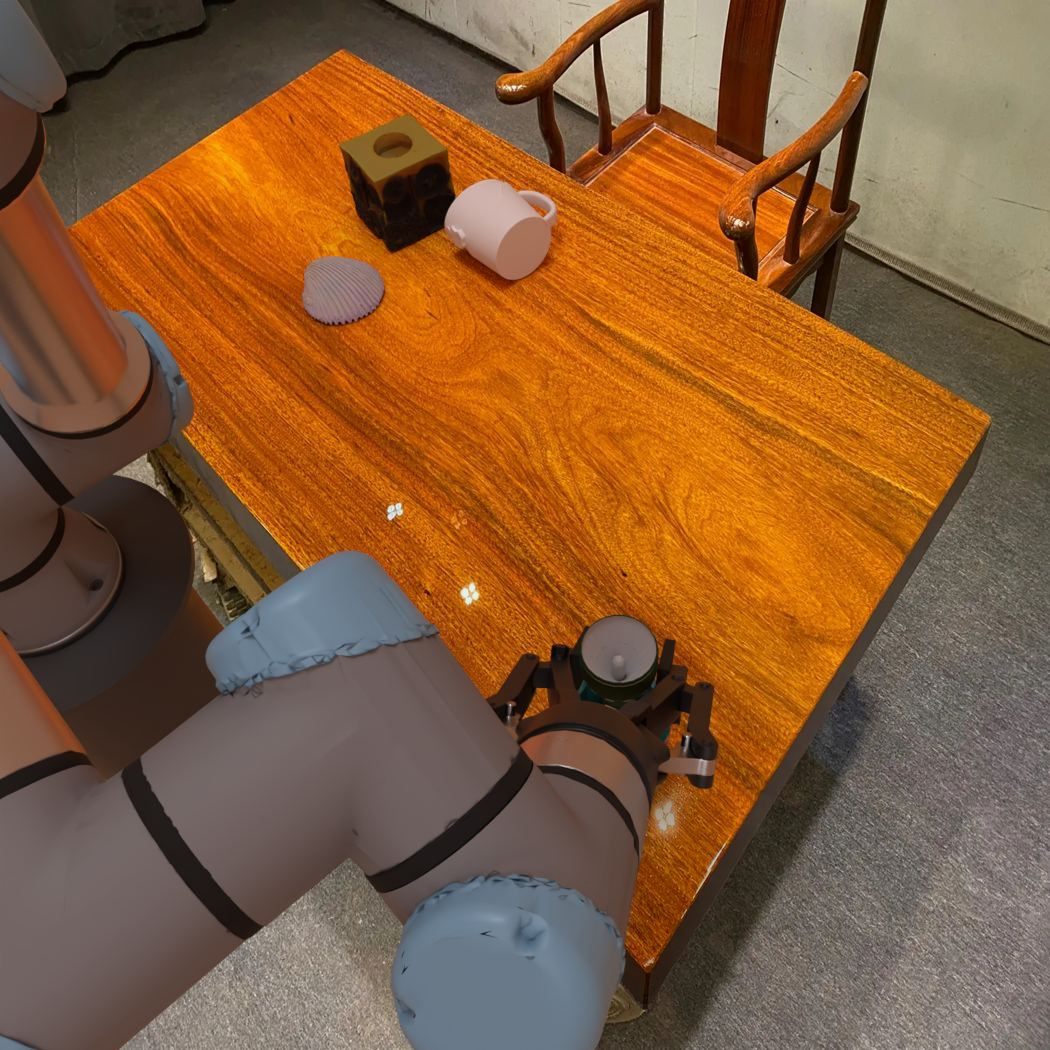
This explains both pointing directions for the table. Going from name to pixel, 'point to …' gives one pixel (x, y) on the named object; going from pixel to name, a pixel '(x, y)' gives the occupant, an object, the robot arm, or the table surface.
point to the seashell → (341, 289)
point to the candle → (399, 181)
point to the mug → (502, 227)
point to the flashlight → (618, 659)
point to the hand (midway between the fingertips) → (628, 650)
